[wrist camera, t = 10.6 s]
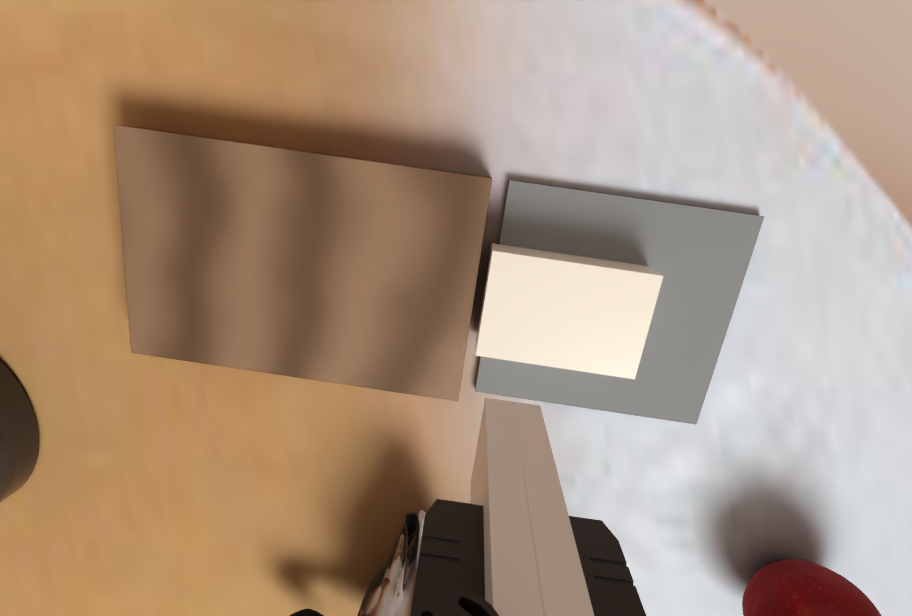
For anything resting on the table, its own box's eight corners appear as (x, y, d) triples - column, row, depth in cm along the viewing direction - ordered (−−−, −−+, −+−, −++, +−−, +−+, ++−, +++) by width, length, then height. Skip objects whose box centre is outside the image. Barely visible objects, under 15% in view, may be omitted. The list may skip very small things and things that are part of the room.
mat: (475, 388, 30) (475, 391, 30) (509, 179, 27) (509, 180, 26) (693, 421, 30) (696, 424, 30) (760, 215, 26) (764, 216, 26)
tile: (476, 340, 29) (475, 355, 27) (491, 243, 27) (492, 250, 25) (622, 362, 29) (634, 379, 27) (648, 266, 27) (663, 275, 25)
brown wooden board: (153, 340, 31) (131, 352, 29) (139, 127, 27) (113, 125, 25) (459, 386, 30) (458, 401, 29) (491, 177, 27) (491, 178, 25)
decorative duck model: (263, 725, 32) (209, 550, 27) (312, 618, 39) (276, 463, 34) (489, 756, 29) (475, 569, 24) (497, 635, 36) (488, 472, 31)
